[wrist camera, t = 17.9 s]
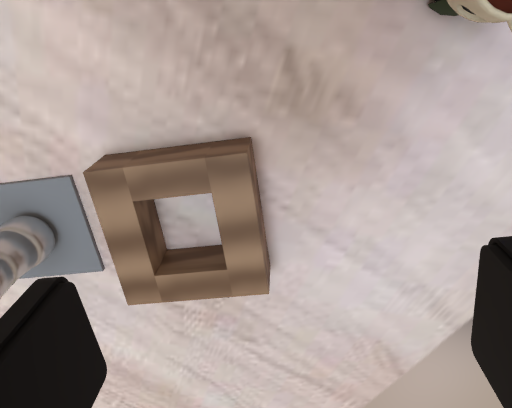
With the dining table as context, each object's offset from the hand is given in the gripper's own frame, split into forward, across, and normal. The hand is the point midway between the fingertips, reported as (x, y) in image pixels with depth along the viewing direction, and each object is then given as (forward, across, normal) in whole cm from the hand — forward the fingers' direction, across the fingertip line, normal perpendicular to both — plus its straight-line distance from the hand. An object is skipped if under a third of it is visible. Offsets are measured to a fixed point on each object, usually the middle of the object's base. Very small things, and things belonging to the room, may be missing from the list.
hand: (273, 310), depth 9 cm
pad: (+38, +34, +15) cm, 53 cm away
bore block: (+38, +13, +15) cm, 43 cm away
